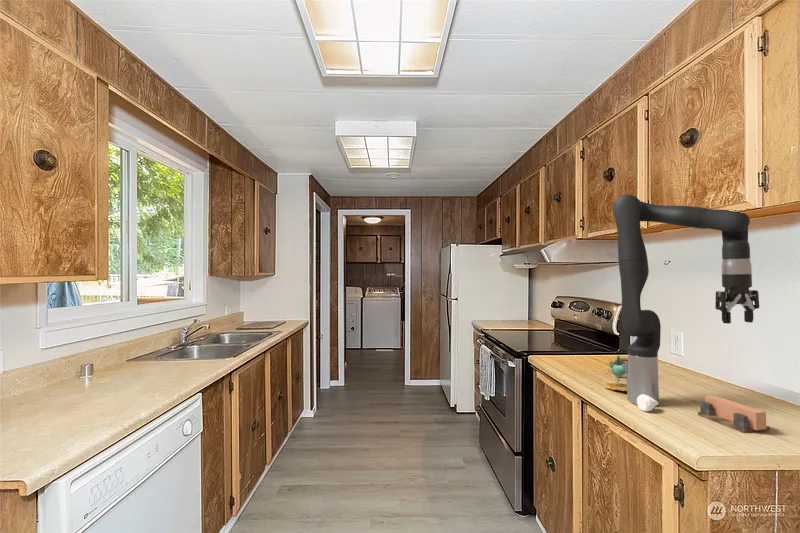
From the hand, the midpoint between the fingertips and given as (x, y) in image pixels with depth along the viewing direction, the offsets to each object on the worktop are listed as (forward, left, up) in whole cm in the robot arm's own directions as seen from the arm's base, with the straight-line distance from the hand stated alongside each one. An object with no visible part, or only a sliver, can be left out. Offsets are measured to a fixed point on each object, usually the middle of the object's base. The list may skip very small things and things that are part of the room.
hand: (737, 322), depth 132 cm
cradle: (+4, -8, -30) cm, 31 cm away
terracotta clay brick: (+5, -8, -29) cm, 31 cm away
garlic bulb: (-11, -24, -30) cm, 40 cm away
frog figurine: (-33, -18, -30) cm, 48 cm away
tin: (-48, 0, -30) cm, 57 cm away
